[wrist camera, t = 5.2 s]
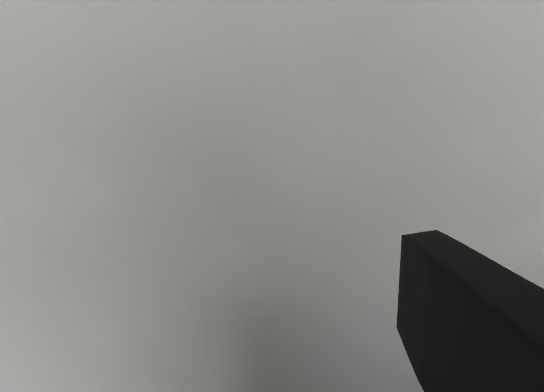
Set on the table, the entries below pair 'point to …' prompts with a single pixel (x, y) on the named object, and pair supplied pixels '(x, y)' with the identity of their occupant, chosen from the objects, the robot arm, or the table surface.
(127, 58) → the table surface
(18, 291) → the table surface
